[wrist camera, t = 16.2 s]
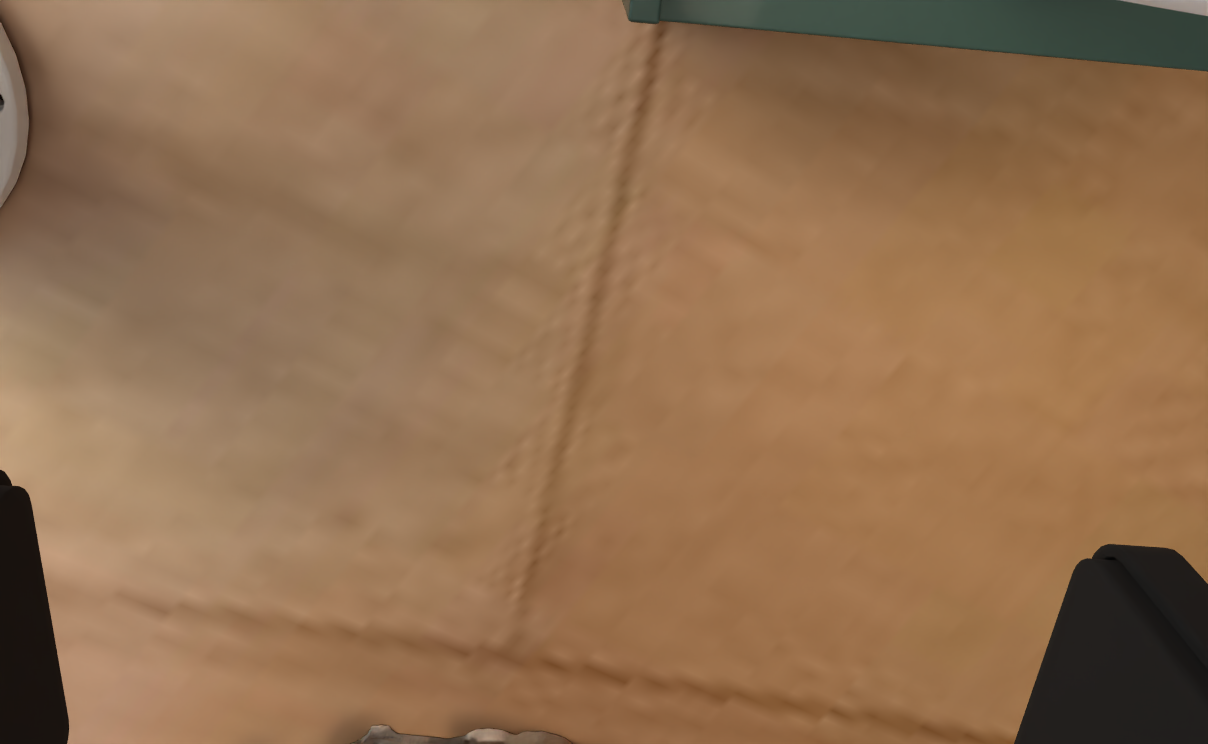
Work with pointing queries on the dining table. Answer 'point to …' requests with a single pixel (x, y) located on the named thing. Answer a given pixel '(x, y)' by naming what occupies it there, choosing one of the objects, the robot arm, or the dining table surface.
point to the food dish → (461, 738)
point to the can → (1177, 5)
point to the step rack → (968, 25)
